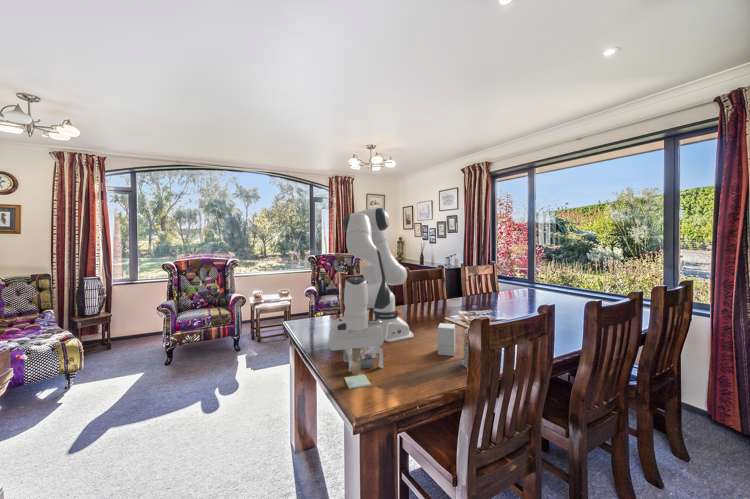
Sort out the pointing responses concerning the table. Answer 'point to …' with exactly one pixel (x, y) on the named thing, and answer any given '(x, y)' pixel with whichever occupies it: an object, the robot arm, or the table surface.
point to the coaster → (357, 381)
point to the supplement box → (446, 339)
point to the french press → (466, 345)
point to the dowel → (356, 361)
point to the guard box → (367, 362)
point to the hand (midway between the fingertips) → (356, 359)
